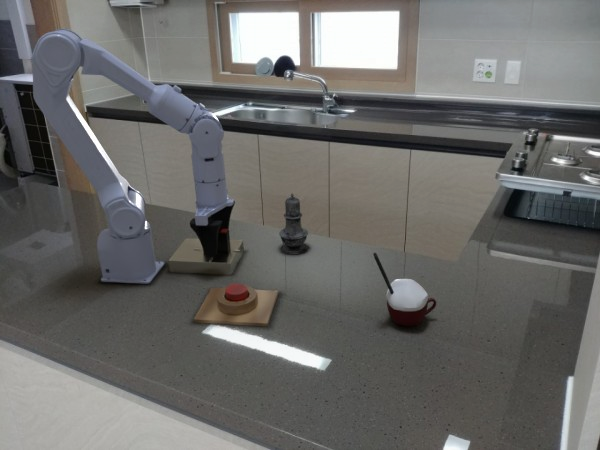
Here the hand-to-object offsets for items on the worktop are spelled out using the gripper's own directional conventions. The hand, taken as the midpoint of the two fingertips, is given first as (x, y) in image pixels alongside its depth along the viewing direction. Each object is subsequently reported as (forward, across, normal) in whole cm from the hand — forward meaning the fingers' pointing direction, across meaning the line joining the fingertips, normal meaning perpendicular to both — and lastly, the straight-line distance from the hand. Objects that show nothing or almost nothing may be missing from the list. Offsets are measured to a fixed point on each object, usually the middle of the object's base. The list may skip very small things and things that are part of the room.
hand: (216, 245), depth 103 cm
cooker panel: (+4, 0, +2) cm, 4 cm away
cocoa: (+4, -17, -35) cm, 39 cm away
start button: (+2, -16, -8) cm, 18 cm away
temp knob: (+1, 0, 0) cm, 1 cm away
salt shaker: (+4, +7, -14) cm, 16 cm away
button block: (+4, -16, -8) cm, 18 cm away
